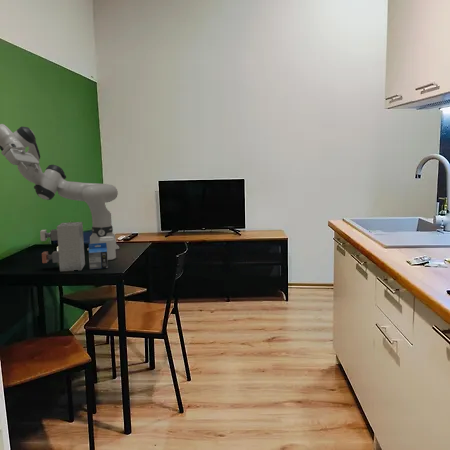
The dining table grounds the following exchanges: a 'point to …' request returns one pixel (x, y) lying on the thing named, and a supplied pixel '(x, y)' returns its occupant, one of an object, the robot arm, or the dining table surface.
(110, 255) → the beverage can
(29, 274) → the dining table surface
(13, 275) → the dining table surface
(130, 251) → the dining table surface
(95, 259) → the label tape box
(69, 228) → the box
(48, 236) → the white key
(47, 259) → the brown block
